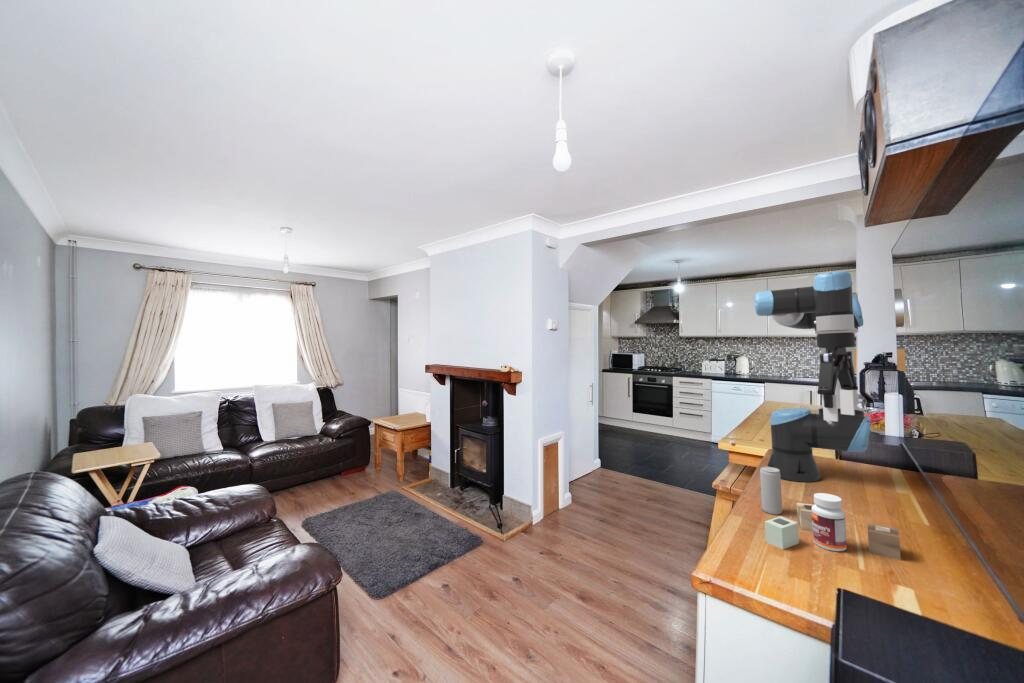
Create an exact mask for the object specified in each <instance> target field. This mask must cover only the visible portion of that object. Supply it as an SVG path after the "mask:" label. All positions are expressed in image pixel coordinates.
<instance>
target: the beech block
mask: <svg viewBox="0 0 1024 683" xmlns="http://www.w3.org/2000/svg"><path fill="white" fill-rule="evenodd" d="M813 505H814V504H811V503H810V504H809V503H801V502H796V512H797V513H796V516H797V517H796V518H797V520H796V521H797V523H798V526H799V528H800V530H802V531H808V532H809V531H810V532H813V531H812V506H813Z"/></svg>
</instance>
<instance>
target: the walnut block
mask: <svg viewBox="0 0 1024 683" xmlns="http://www.w3.org/2000/svg"><path fill="white" fill-rule="evenodd" d="M867 540H868V541H867V542H868V552H869V554H872V555H878V556H880V557H881V556H882V557H884V558H885V557H886V558H890V559H894V560H897V561H901V559H902V558H901V544H900V541H901V539H900V534H899V530H898V528H897V527H896V528H895V527H890V526H887V525H882V524H881V525H880V524H876V523H872V522H867Z"/></svg>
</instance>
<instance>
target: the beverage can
mask: <svg viewBox="0 0 1024 683" xmlns="http://www.w3.org/2000/svg"><path fill="white" fill-rule="evenodd" d="M759 478H760V495H761V496H760V497H761V509H762V511H763V512H764V513H766V514H769V515H774V516H778V515H779V516H780V515H781V514H782V513H783V500H782V499H783V498H782V480H781V476H780V470H779V469H777V468H773V467H767V466H761V467H760V470H759Z"/></svg>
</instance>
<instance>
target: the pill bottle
mask: <svg viewBox="0 0 1024 683" xmlns="http://www.w3.org/2000/svg"><path fill="white" fill-rule="evenodd" d="M813 503H814V504H812V505H813V506H812V531H811V532H812V541H813V543H814V544H815V545H816V546H818V547H820V548H822V549H824V550H828V551H833V552H844V551H845V550H847V546H848V545H847V543H848V542H847V526H846V514H845V511H844V509H842V508H843V500H842V498H841V497H839V496H838V495H835V494H832V493H831V494H830V493H824V492H817V493H816V492H815V493H814V494H813Z"/></svg>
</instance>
